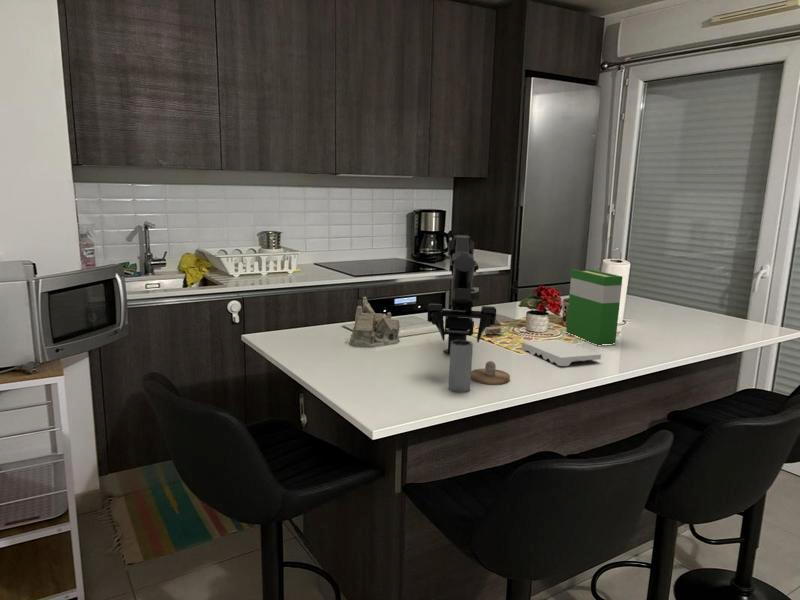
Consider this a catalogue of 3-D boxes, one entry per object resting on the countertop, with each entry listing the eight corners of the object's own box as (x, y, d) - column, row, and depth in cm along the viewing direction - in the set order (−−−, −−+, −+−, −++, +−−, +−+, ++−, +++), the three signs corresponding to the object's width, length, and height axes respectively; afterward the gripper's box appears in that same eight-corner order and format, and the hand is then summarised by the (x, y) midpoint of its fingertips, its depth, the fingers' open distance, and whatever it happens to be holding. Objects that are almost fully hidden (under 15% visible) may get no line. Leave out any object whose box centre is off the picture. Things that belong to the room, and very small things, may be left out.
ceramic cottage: (343, 345, 192) (347, 300, 189) (360, 335, 208) (365, 293, 205) (388, 353, 188) (393, 307, 185) (403, 342, 203) (407, 300, 201)
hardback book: (565, 333, 218) (571, 269, 213) (582, 332, 221) (588, 268, 216) (597, 346, 202) (605, 277, 197) (615, 344, 205) (622, 276, 200)
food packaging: (521, 352, 195) (560, 368, 176) (522, 342, 194) (560, 357, 176) (559, 349, 200) (599, 365, 182) (559, 339, 200) (600, 354, 182)
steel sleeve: (448, 384, 158) (450, 339, 156) (469, 385, 158) (472, 340, 155) (448, 391, 153) (450, 345, 150) (470, 392, 152) (473, 346, 150)
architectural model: (503, 336, 212) (504, 316, 211) (488, 338, 209) (489, 318, 207) (497, 334, 215) (498, 314, 214) (482, 336, 211) (483, 316, 210)
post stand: (480, 369, 172) (481, 353, 171) (515, 377, 166) (516, 360, 165) (463, 379, 163) (464, 362, 162) (500, 387, 157) (501, 370, 156)
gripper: (429, 274, 161) (426, 323, 152) (498, 277, 160) (499, 326, 151) (428, 297, 170) (426, 344, 162) (493, 300, 169) (494, 348, 160)
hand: (460, 340), depth 159 cm, fingers open, 9 cm apart
